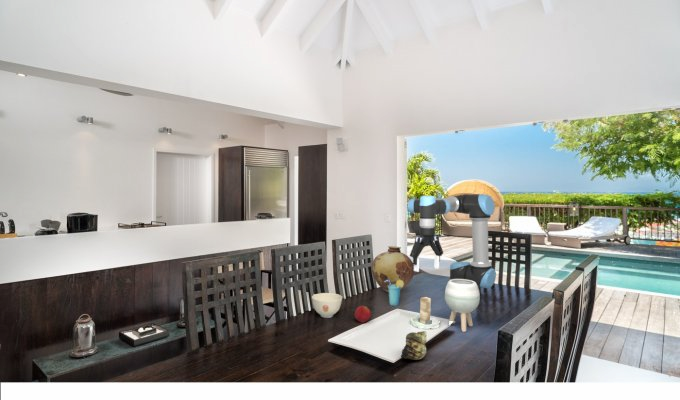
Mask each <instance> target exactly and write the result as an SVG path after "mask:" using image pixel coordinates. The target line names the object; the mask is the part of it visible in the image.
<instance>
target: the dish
mask: <svg viewBox="0 0 680 400" xmlns="http://www.w3.org/2000/svg"><path fill="white" fill-rule="evenodd" d="M409 321H410V325H411V326H412V327H414V328H416V327H418V328H417V329H420V328H432V327H435V326H437V325H439V323H440V324H441V321H440V320H439V321H438V323H437V324H432V320H429V321H426V323H425V324H424V323H421V322H420V315H417V316H412V317H411V318H410V319H409ZM431 324H432V325H431Z"/></svg>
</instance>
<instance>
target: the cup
mask: <svg viewBox="0 0 680 400" xmlns="http://www.w3.org/2000/svg"><path fill="white" fill-rule="evenodd" d="M387 281H389V285H388V290H389V292H388V299H389V302H388V303H389V305H390V306H399V304H400V297H401V296H400V295H401V290H400V289H401V288H402V287H403V285H404V283H403V281H402V280H400V279H399V280H397V281H396V285H391V283H390V280H386V281H384V282H387Z"/></svg>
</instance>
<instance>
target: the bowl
mask: <svg viewBox="0 0 680 400" xmlns="http://www.w3.org/2000/svg"><path fill="white" fill-rule="evenodd" d="M311 301H312V305H313V309H314V311H316V313H317V314H318V315H320V317H321V318H324V319H329V318H333V317H334V315H335V314H336V313H337V312H339V310H340V308H341V306H342V305H341V304H342V302H343V296H342V295H341V294H338V293H332V292H321V293H316V294H314V295H311Z"/></svg>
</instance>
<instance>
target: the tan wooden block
mask: <svg viewBox="0 0 680 400" xmlns="http://www.w3.org/2000/svg"><path fill="white" fill-rule="evenodd" d="M419 301H420V306H419V316H420V322H421V323H424V324H425V323H426V321H429V320H430V317H431V301H432V298H431V297H427V296H424V297H423V296H422V297H420V299H419Z"/></svg>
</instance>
